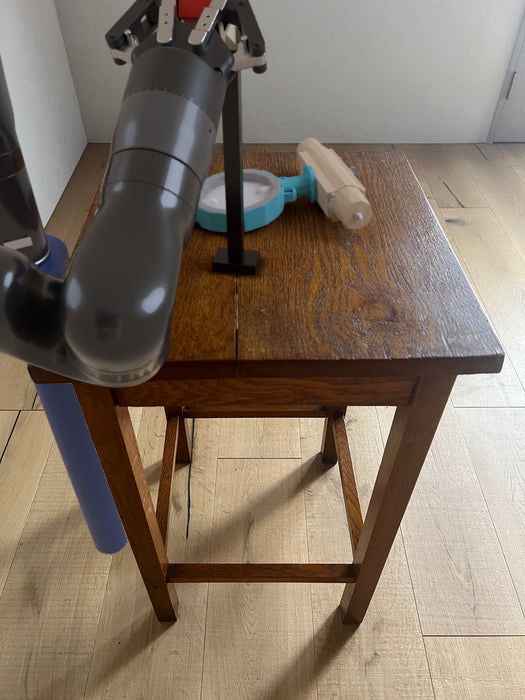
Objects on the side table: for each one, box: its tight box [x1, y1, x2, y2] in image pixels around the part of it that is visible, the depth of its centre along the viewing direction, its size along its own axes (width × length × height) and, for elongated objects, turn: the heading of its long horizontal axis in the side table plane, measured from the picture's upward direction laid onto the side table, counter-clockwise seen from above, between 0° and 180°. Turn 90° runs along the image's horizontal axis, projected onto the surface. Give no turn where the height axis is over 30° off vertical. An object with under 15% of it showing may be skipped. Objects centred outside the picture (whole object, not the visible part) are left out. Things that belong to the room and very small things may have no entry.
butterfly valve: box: [195, 137, 374, 233], centre depth 90 cm, size 27×7×30 cm
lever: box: [178, 0, 241, 46], centre depth 54 cm, size 3×16×3 cm, turn 171°
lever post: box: [211, 45, 261, 276], centre depth 69 cm, size 6×4×31 cm, turn 81°
